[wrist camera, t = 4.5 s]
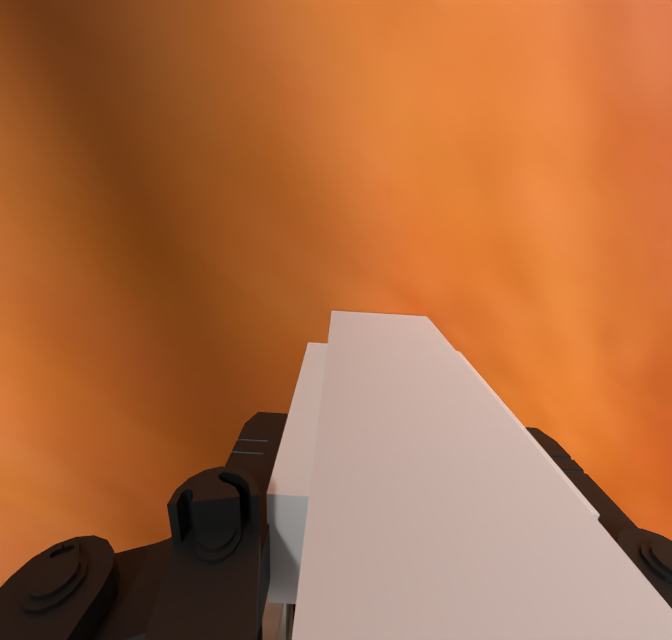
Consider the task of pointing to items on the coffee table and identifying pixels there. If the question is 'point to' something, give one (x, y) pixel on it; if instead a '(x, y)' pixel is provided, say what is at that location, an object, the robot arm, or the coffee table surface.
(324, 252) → the coffee table surface
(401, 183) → the coffee table surface
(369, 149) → the coffee table surface
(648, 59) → the coffee table surface
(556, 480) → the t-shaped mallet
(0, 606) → the robot arm
